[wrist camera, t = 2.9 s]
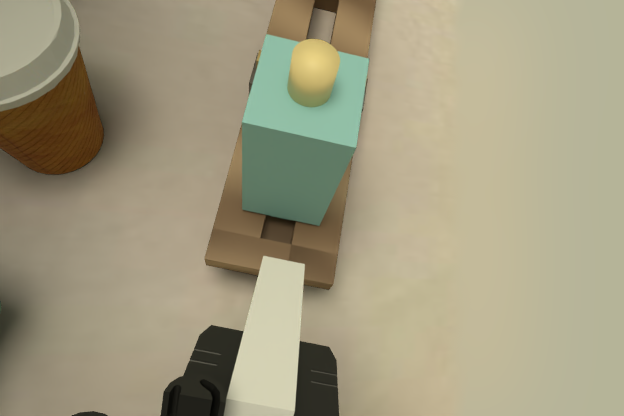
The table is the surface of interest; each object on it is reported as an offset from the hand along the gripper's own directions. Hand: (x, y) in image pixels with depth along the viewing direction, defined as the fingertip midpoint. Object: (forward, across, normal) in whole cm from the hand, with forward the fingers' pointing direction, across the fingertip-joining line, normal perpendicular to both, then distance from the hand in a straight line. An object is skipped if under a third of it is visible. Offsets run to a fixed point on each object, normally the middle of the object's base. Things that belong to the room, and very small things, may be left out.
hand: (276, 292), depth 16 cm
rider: (+15, 0, -1) cm, 15 cm away
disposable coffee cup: (+19, -18, -3) cm, 27 cm away
